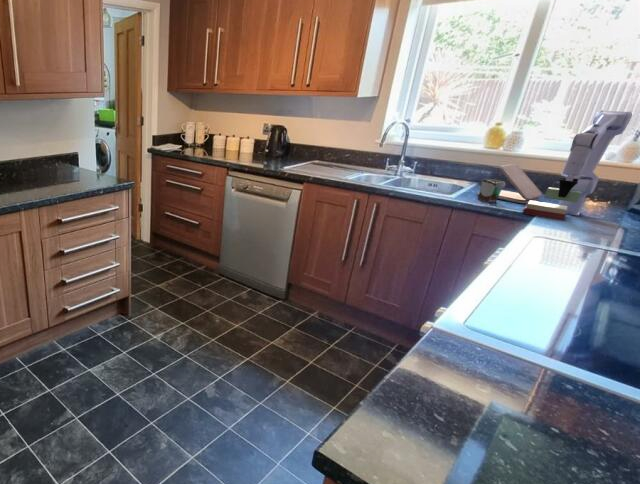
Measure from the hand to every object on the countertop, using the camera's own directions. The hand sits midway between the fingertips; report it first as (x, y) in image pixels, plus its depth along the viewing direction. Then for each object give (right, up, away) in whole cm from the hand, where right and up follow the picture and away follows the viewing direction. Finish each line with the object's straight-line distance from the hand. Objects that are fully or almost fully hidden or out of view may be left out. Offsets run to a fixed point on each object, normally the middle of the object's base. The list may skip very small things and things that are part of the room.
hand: (561, 196), depth 177 cm
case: (+10, +4, +37) cm, 38 cm away
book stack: (0, -7, +8) cm, 10 cm away
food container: (-6, +1, +28) cm, 29 cm away
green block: (0, -1, +1) cm, 1 cm away
